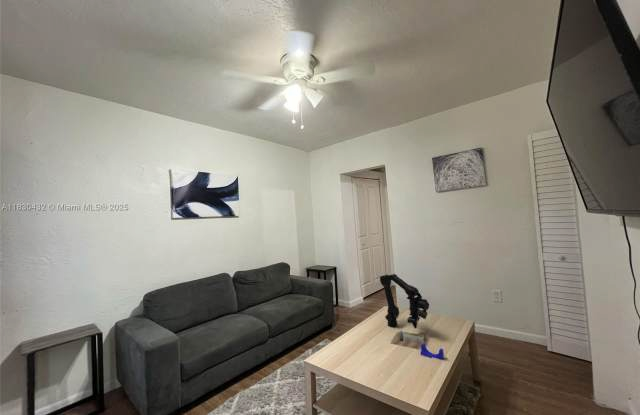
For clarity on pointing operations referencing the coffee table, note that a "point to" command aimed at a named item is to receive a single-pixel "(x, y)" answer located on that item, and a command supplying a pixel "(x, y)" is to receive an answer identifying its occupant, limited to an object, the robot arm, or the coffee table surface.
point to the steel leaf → (411, 338)
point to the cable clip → (429, 354)
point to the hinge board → (407, 344)
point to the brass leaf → (414, 334)
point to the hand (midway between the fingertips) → (415, 328)
